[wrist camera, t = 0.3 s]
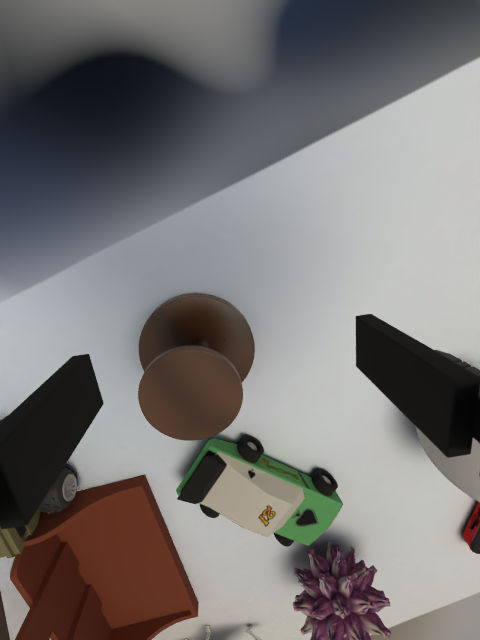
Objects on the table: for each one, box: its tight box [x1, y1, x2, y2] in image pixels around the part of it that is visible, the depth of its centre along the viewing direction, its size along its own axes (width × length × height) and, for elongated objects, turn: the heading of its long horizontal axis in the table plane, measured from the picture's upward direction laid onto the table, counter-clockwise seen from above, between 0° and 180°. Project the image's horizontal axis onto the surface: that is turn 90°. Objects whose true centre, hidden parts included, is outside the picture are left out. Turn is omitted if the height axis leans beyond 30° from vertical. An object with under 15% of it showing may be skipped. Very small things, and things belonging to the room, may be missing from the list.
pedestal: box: [138, 294, 255, 440], centre depth 28 cm, size 12×12×10 cm
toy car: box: [176, 435, 343, 547], centre depth 37 cm, size 10×19×5 cm, turn 59°
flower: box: [293, 542, 391, 640], centre depth 39 cm, size 12×12×12 cm
